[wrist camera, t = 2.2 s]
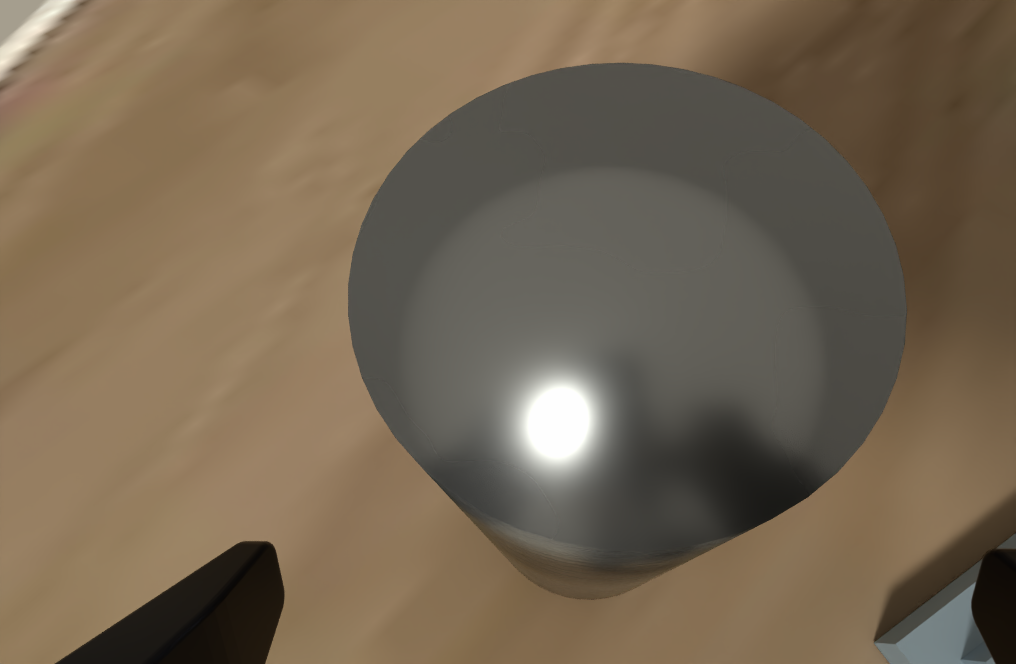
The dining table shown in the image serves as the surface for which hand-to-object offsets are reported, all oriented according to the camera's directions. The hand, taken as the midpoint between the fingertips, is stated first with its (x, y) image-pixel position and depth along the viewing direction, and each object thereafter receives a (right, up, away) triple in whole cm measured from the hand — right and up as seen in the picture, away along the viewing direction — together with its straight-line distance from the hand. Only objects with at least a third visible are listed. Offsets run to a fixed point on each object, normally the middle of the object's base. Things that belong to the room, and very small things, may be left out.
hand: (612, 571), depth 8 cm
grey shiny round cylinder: (+1, -2, +10) cm, 10 cm away
